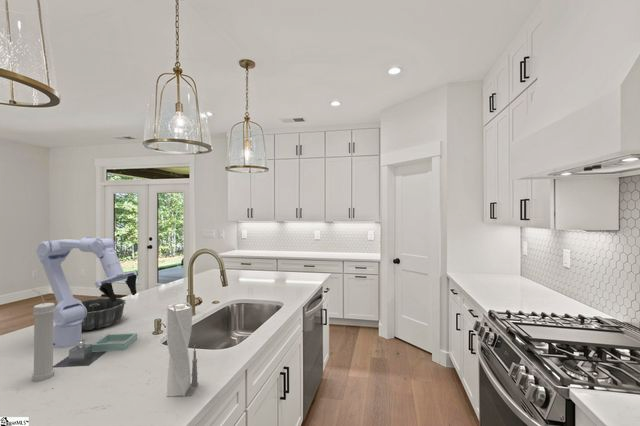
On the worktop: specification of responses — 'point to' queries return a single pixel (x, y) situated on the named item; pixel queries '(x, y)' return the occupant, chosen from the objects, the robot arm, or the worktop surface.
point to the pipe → (43, 341)
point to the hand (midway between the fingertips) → (125, 297)
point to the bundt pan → (102, 312)
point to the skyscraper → (180, 351)
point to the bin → (104, 346)
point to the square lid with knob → (89, 361)
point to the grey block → (80, 352)
